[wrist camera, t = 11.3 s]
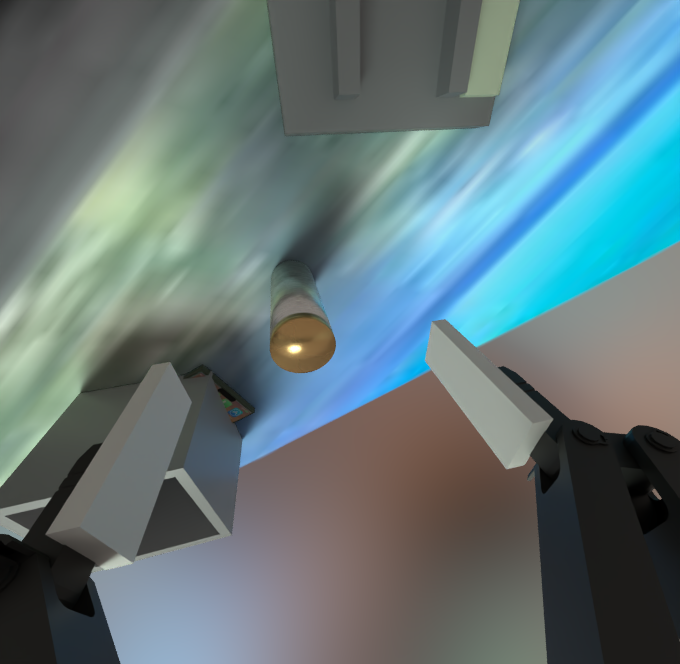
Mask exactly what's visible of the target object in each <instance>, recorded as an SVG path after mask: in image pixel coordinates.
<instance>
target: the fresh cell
mask: <svg viewBox="0 0 680 664" xmlns="http://www.w3.org/2000/svg"><path fill="white" fill-rule="evenodd" d="M335 347H336V341H335V337H334V334H333V332H332V329H331V326H330V323H329V320H328V318H327V315H326V312H325V309H324V306H323V303H322V301H321V298H320V295H319V292H318V289H317V287H316V284H315V281H314V278H313V275H312V273H311V271H310V269H309V268H308V267H307V266H306V265H305V264H303V263H301V262H299V261H295V260H289V261H285V262H282V263H280V264H279V265H278V266H277V267H276V268H275V269H274V270H273V273H272V276H271V319H270V353H271V356H272V358H273V360H274V362H275V363H276V364H277V365H278V366H279V367H281V368H282V369H284V370H287V371H289V372H294V373H307V372H312V371H315V370H317V369H319V368H321V367H322V366H324V365H325V364H326V363H327V362H328V361H329V360H330V359H331V358H332V356H333V354H334V352H335Z"/></svg>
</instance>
